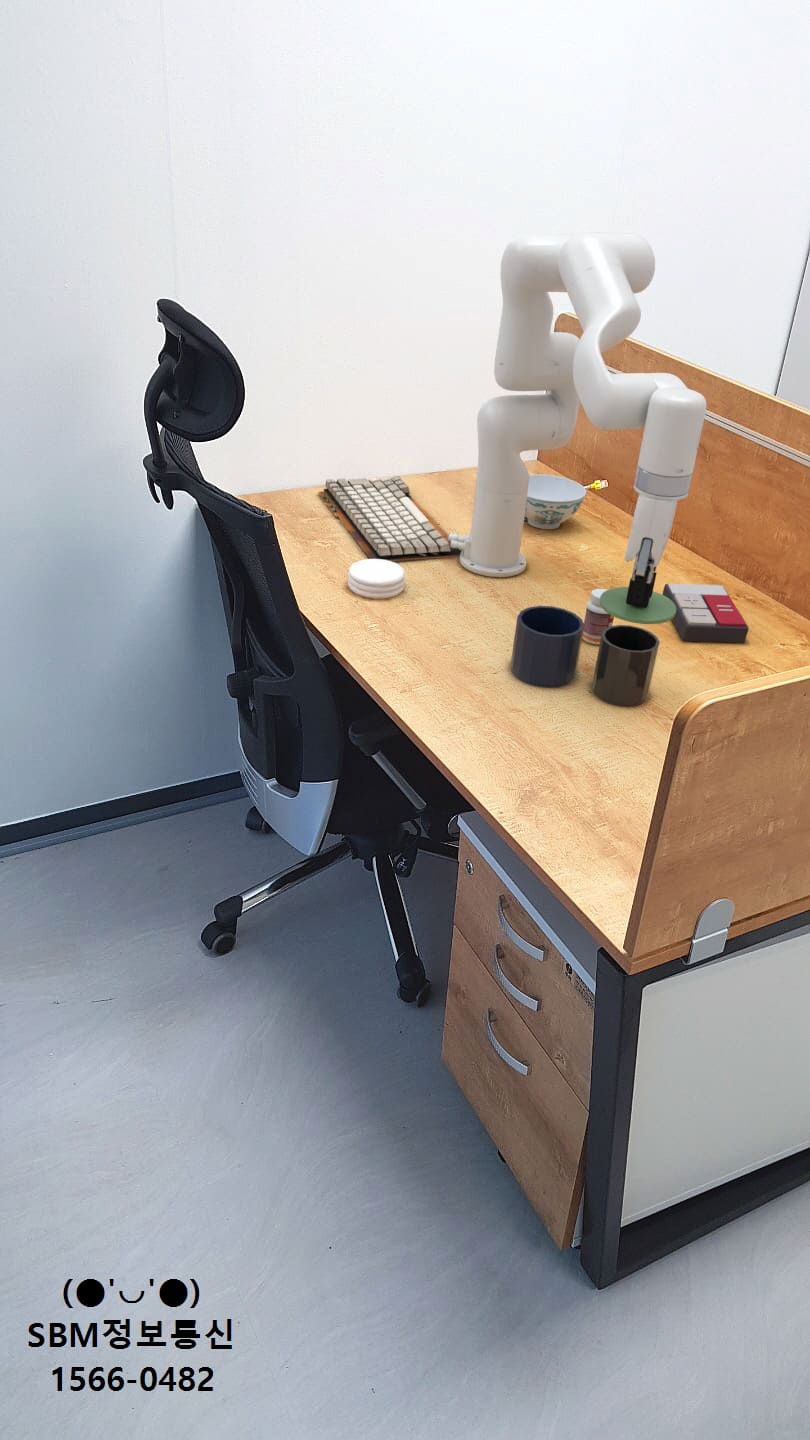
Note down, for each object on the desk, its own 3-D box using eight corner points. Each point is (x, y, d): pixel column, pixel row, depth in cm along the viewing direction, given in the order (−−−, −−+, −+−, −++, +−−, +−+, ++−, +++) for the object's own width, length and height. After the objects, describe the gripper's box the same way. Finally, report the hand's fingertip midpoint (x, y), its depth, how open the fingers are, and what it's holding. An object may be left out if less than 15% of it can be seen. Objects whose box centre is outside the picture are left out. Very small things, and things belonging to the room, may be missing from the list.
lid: (592, 617, 160) (598, 579, 156) (606, 588, 169) (613, 550, 165) (669, 634, 157) (677, 595, 154) (679, 603, 166) (687, 565, 163)
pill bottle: (611, 646, 183) (620, 601, 179) (583, 644, 183) (591, 598, 179) (607, 633, 187) (616, 588, 183) (579, 631, 187) (587, 586, 183)
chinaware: (498, 527, 224) (502, 491, 219) (520, 504, 235) (525, 469, 231) (569, 543, 219) (575, 506, 215) (588, 518, 231) (594, 483, 227)
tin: (503, 678, 172) (510, 627, 167) (519, 650, 180) (526, 600, 175) (567, 693, 169) (576, 642, 164) (580, 664, 177) (589, 614, 172)
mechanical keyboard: (466, 556, 211) (468, 540, 209) (372, 566, 204) (373, 549, 202) (398, 486, 240) (398, 471, 238) (314, 493, 234) (314, 477, 232)
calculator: (687, 622, 184) (665, 579, 197) (682, 644, 187) (660, 600, 199) (751, 624, 185) (724, 581, 198) (744, 646, 188) (718, 602, 200)
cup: (586, 698, 168) (596, 644, 163) (597, 673, 175) (607, 620, 170) (642, 712, 166) (654, 657, 161) (651, 685, 173) (663, 632, 168)
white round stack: (383, 571, 202) (384, 553, 200) (415, 592, 195) (416, 574, 193) (337, 582, 197) (337, 564, 195) (368, 604, 190) (369, 586, 188)
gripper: (645, 459, 160) (623, 574, 170) (625, 494, 147) (602, 617, 156) (696, 468, 158) (671, 584, 168) (682, 504, 145) (655, 629, 154)
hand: (638, 599), depth 162 cm, fingers closed on lid, 2 cm apart
